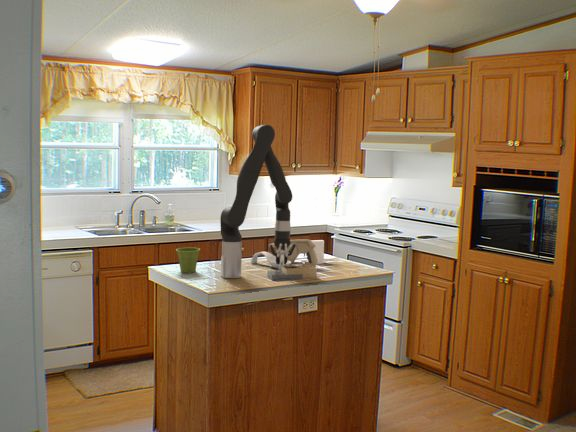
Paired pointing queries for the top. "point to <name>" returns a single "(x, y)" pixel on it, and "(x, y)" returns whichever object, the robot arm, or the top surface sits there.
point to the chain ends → (294, 272)
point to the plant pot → (188, 259)
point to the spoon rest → (270, 259)
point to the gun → (304, 248)
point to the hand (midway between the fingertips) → (281, 263)
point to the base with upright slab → (319, 250)
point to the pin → (281, 259)
